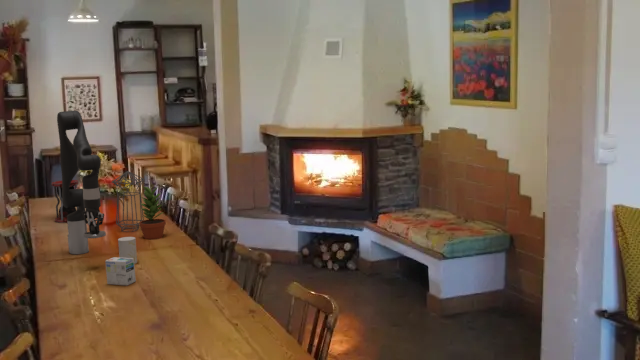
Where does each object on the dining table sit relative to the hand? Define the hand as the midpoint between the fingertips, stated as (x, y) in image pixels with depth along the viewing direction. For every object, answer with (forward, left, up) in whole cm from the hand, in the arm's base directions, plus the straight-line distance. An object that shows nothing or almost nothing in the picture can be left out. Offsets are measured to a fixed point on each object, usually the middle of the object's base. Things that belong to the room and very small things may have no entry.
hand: (94, 233), depth 337 cm
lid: (0, 0, -1) cm, 1 cm away
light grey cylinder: (+7, +13, -17) cm, 22 cm away
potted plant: (-24, +58, -17) cm, 65 cm away
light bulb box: (+31, -12, -17) cm, 37 cm away
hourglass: (-111, +66, -17) cm, 130 cm away
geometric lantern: (-50, +65, -17) cm, 84 cm away
